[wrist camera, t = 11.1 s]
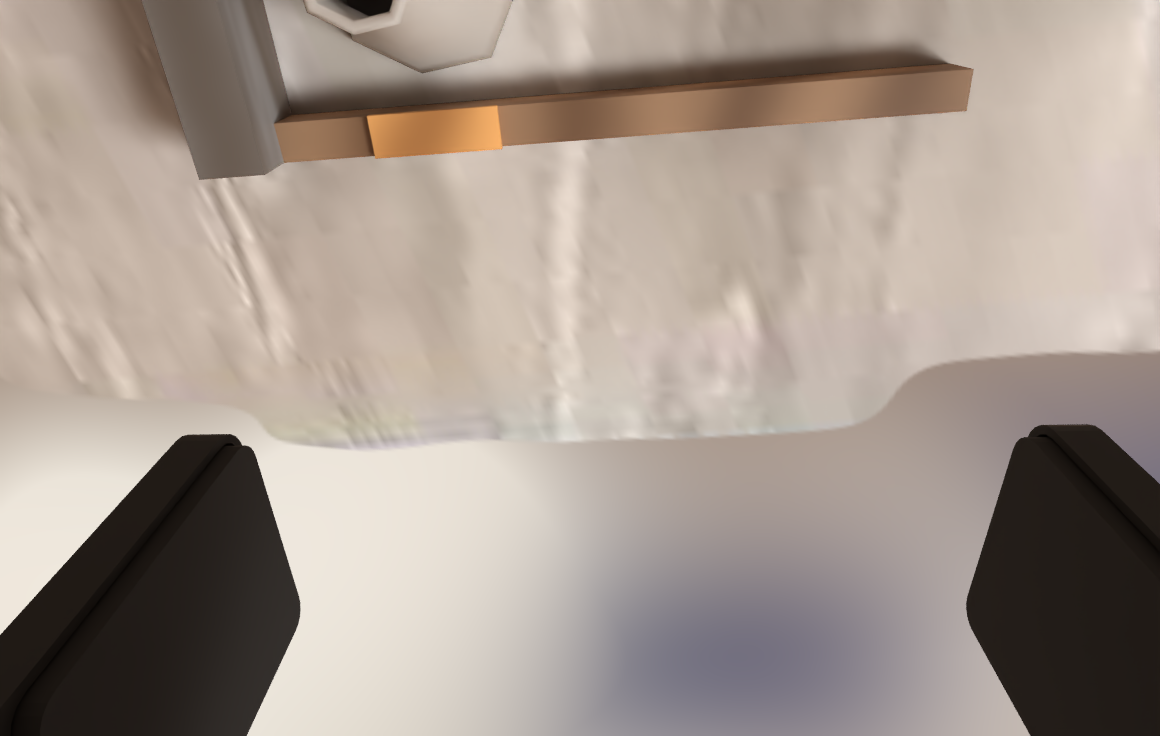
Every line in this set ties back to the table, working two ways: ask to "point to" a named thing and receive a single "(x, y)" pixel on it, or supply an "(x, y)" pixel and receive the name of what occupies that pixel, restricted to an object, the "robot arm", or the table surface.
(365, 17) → the flask
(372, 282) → the table surface
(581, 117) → the guide channel
